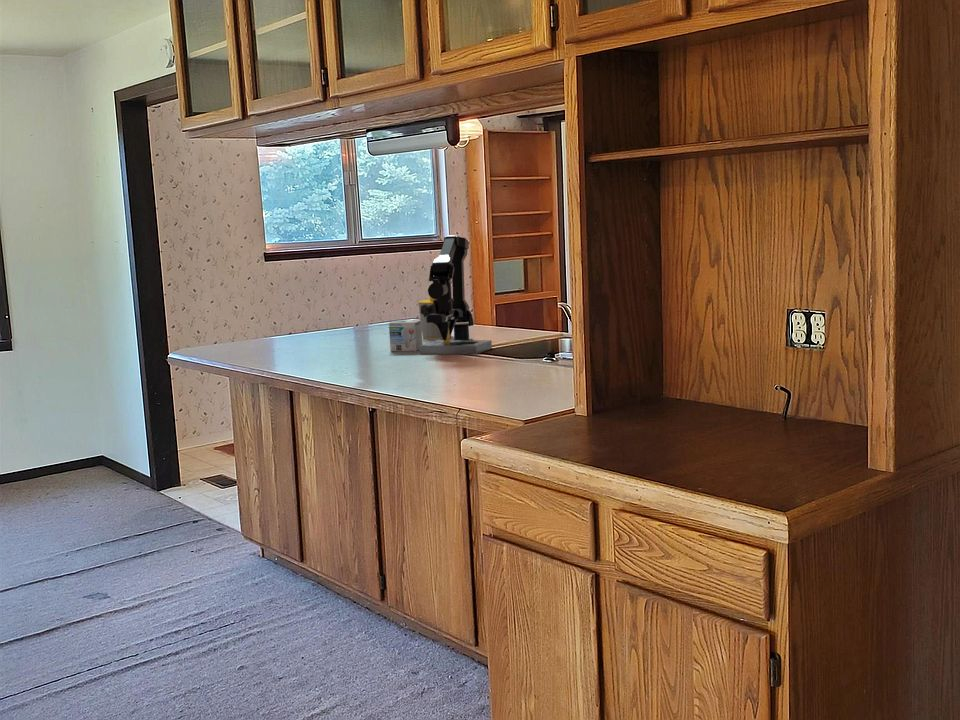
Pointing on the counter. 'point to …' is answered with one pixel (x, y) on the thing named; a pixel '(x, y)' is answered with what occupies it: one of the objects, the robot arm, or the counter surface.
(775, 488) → the counter surface
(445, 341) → the headed peg
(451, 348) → the keyhole plate
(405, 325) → the light bulb box
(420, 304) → the soap bottle
